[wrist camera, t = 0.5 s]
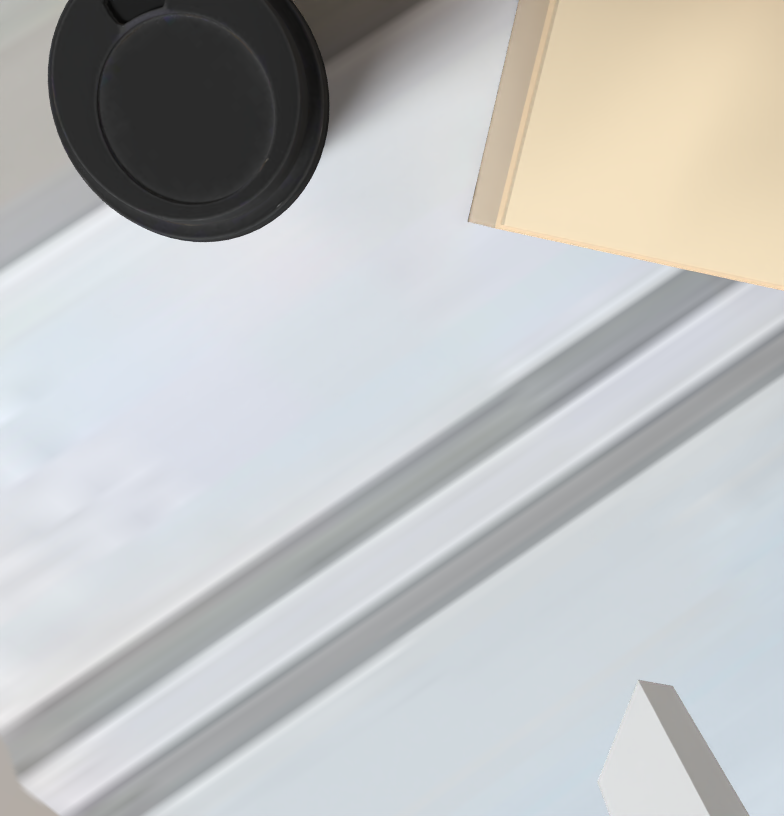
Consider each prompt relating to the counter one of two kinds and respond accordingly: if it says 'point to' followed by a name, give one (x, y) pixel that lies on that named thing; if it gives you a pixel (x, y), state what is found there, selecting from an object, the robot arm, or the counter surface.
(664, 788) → the robot arm
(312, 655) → the counter surface
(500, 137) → the carton
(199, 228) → the coffee cup
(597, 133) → the lid flap
